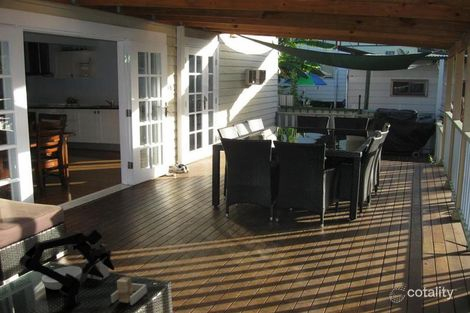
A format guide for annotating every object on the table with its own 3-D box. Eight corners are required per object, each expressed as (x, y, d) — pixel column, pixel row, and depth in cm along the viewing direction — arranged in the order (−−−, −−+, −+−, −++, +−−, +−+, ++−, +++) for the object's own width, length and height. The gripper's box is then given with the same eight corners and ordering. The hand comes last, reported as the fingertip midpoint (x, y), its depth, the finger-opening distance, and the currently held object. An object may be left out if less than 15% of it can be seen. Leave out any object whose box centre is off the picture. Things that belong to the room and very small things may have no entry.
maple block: (127, 303, 230) (125, 282, 228) (119, 302, 232) (116, 281, 230) (133, 298, 234) (130, 277, 232) (125, 297, 236) (122, 276, 234)
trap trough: (132, 305, 227) (131, 297, 226) (111, 302, 232) (110, 295, 231) (147, 291, 240) (146, 284, 239) (127, 289, 244) (126, 282, 244)
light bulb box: (87, 278, 264) (84, 260, 262) (96, 273, 270) (93, 255, 268) (101, 280, 259) (99, 262, 257) (110, 275, 265) (107, 257, 263)
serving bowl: (89, 276, 266) (87, 265, 265) (73, 293, 246) (71, 281, 245) (54, 277, 269) (52, 266, 267) (35, 295, 248) (33, 283, 247)
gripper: (83, 248, 223) (106, 271, 222) (105, 234, 241) (127, 255, 239) (72, 263, 227) (94, 285, 226) (95, 248, 245) (116, 269, 243)
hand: (108, 273), depth 233 cm, fingers open, 9 cm apart
